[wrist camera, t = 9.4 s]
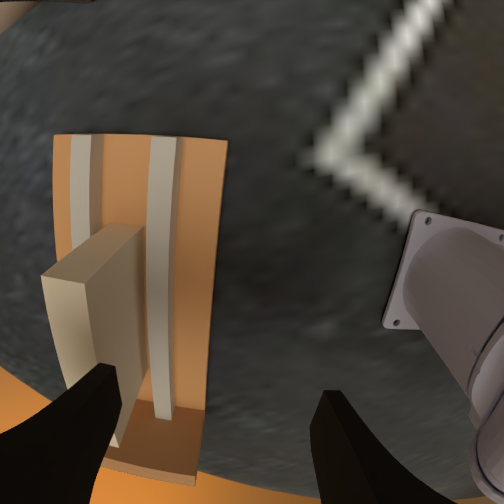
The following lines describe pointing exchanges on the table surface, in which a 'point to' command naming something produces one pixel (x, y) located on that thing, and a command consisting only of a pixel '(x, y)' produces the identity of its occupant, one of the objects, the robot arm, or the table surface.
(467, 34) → the table surface
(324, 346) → the table surface
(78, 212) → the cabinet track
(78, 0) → the phone
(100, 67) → the table surface
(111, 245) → the door panel
